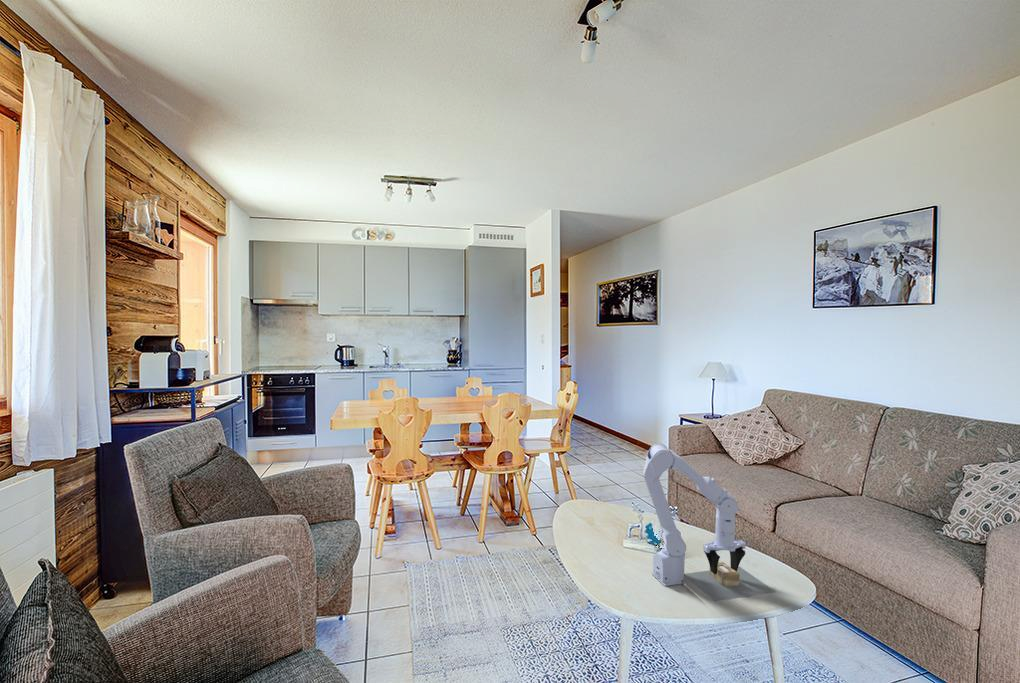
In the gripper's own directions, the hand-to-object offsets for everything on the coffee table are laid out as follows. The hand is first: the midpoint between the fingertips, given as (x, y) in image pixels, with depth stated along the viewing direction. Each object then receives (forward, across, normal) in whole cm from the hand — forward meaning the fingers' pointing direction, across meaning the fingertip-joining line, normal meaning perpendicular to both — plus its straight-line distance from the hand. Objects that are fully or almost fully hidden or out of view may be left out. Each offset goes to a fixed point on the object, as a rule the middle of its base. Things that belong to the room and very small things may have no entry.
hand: (723, 571), depth 154 cm
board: (+4, 0, -2) cm, 4 cm away
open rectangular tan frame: (+3, 0, 0) cm, 3 cm away
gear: (+4, -7, +29) cm, 30 cm away
